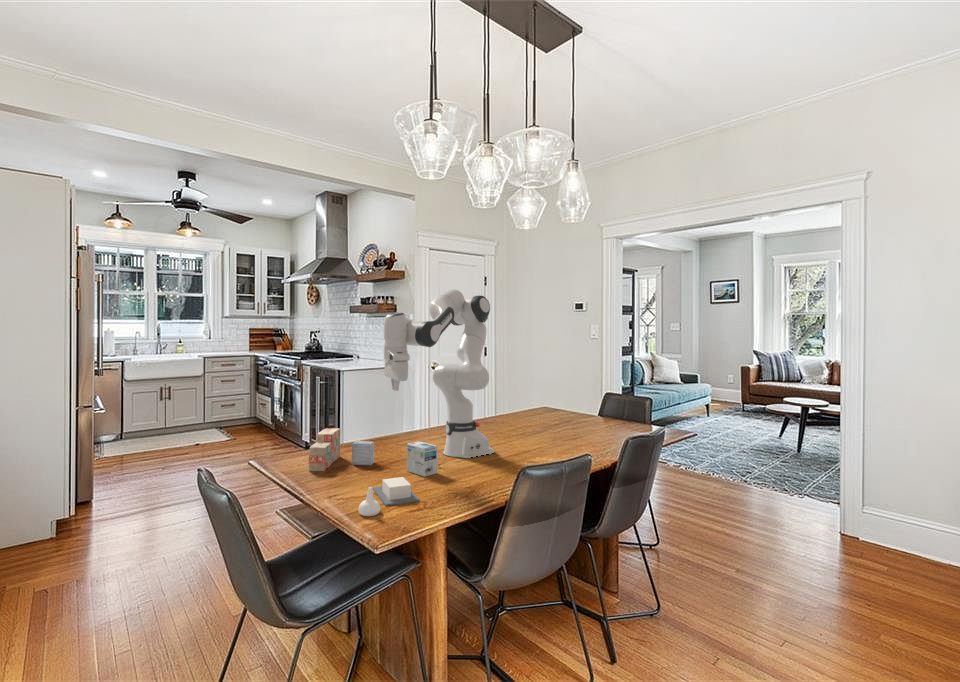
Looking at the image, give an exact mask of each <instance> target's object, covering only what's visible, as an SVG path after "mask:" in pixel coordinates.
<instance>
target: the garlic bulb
mask: <svg viewBox="0 0 960 682" xmlns="http://www.w3.org/2000/svg"><path fill="white" fill-rule="evenodd" d="M373 492H374V491H373V487H372V486H368V488H367V493H366V499H365V500H363V501H361V503H360V504H359V505H358V513H359V514H360V515H361V516H364V517H373V516H376V515H378V514H379V513H380V511H381V505H380V503H379V501H377V500H376V499H374V494H373Z"/></svg>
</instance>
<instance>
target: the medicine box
mask: <svg viewBox="0 0 960 682" xmlns="http://www.w3.org/2000/svg"><path fill="white" fill-rule="evenodd" d="M374 463H375V442H374V441H366V440H364V441H363V440H359V441H358V440H356V441H354V442H353V443H351V465H352V466H353V465H354V466H355V465H356V466H372V465H373V464H374Z"/></svg>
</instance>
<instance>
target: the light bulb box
mask: <svg viewBox="0 0 960 682" xmlns="http://www.w3.org/2000/svg"><path fill="white" fill-rule="evenodd" d="M406 445H407V446H406V472H409V473H412V474H414V475H415V474H416V475H418V476H421V477H429V476H432V475H435V474H438V445H435V444H432V443H428V442H424V441H419V440H418V441H414V442H409V443H408V442H407V444H406Z"/></svg>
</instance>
